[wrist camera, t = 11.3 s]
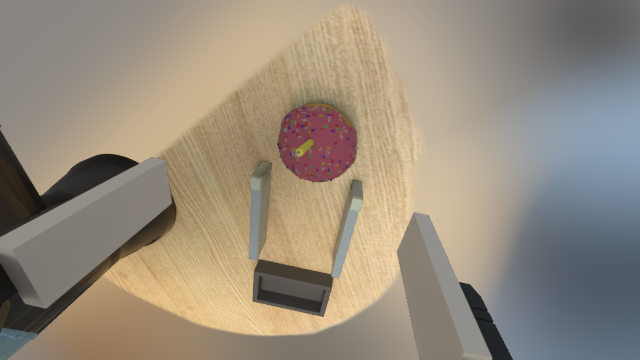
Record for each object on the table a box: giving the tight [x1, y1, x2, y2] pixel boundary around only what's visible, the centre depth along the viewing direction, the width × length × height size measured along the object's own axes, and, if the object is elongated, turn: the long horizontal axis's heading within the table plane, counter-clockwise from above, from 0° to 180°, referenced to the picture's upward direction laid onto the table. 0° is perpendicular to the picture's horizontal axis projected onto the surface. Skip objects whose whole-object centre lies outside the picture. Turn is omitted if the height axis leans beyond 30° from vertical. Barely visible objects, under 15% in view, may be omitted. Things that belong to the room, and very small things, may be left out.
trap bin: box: [253, 260, 333, 317], centre depth 42 cm, size 13×8×2 cm, turn 81°
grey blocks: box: [249, 162, 363, 278], centre depth 34 cm, size 13×14×5 cm
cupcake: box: [277, 103, 357, 182], centre depth 25 cm, size 9×8×12 cm
